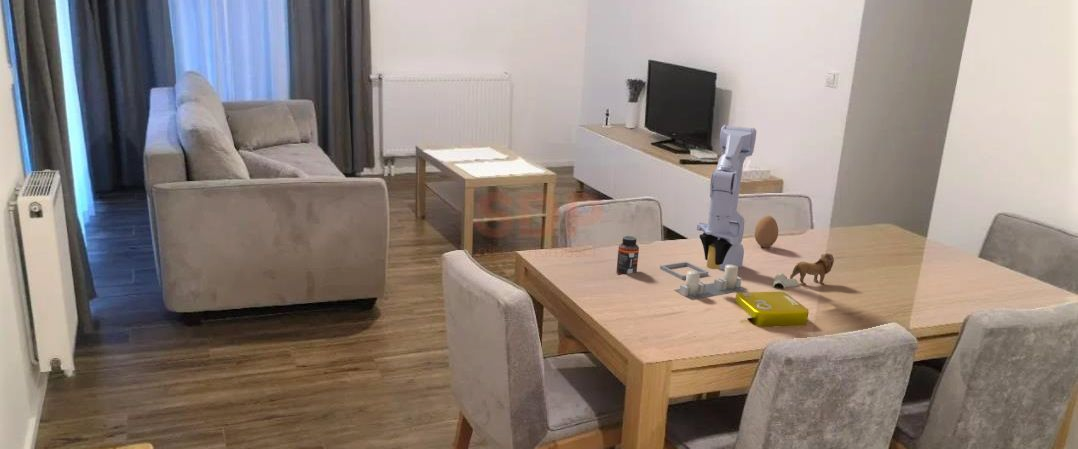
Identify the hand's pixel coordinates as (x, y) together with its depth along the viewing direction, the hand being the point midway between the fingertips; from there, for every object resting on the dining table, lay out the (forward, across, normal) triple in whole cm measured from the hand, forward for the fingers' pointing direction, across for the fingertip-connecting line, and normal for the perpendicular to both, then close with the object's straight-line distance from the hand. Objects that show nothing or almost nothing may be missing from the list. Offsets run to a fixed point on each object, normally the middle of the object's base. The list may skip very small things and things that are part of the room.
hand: (713, 261), depth 237 cm
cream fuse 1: (+8, 0, -7) cm, 11 cm away
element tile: (+10, +18, +5) cm, 21 cm away
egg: (+10, -28, +49) cm, 57 cm away
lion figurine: (+10, +4, +36) cm, 37 cm away
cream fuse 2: (+8, 0, +7) cm, 11 cm away
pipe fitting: (+10, +5, +24) cm, 26 cm away
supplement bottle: (+10, -23, -12) cm, 28 cm away
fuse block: (+10, 0, 0) cm, 10 cm away
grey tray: (+10, -15, +3) cm, 18 cm away
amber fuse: (+2, 0, 0) cm, 2 cm away
